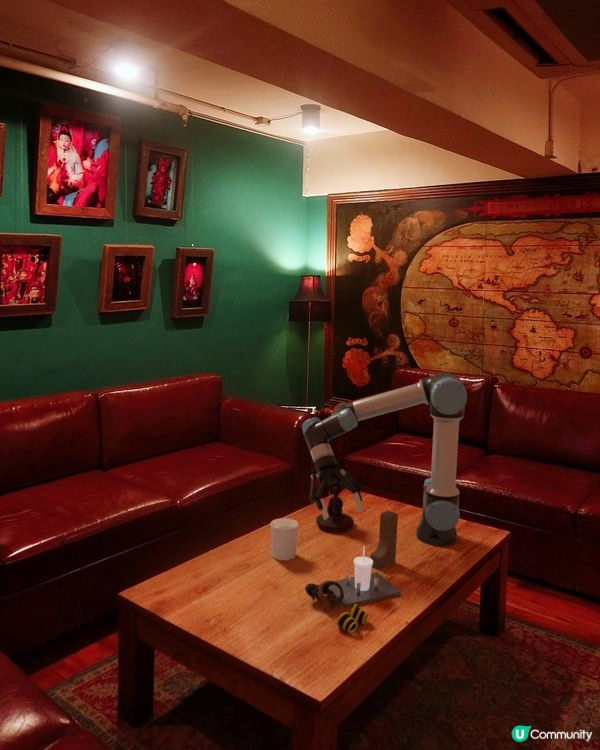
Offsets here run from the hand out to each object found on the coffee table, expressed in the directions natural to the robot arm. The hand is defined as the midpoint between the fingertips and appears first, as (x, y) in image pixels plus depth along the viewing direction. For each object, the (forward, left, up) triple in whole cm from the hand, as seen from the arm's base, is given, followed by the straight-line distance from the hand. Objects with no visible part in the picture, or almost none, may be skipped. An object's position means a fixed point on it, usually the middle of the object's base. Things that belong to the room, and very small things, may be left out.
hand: (344, 514), depth 220 cm
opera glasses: (+14, +32, -19) cm, 40 cm away
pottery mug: (+16, +18, -19) cm, 31 cm away
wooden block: (-14, +3, -19) cm, 24 cm away
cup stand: (+2, +16, -19) cm, 25 cm away
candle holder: (+15, -16, -19) cm, 29 cm away
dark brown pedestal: (-14, -32, -19) cm, 40 cm away
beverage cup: (+2, +16, -18) cm, 24 cm away
